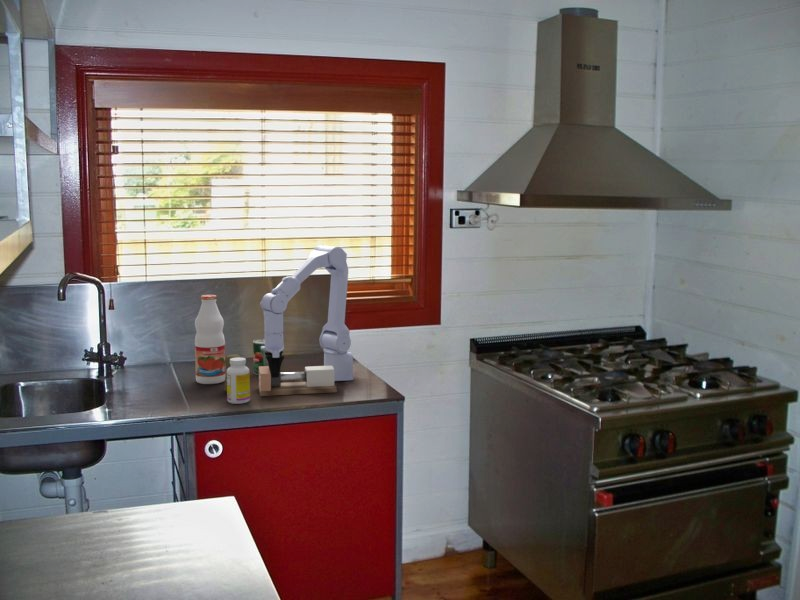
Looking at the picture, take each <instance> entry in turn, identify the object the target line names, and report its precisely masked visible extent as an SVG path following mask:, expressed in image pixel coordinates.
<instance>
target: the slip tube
mask: <svg viewBox="0 0 800 600" xmlns="http://www.w3.org/2000/svg"><path fill="white" fill-rule="evenodd" d="M291 382H307V372H305V371H291V372H289V371H287V372H286V371H285V372H280V373H279V377H278V378H272V377H271V387H277V386H281V383H291Z"/></svg>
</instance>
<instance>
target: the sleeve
mask: <svg viewBox="0 0 800 600" xmlns="http://www.w3.org/2000/svg"><path fill="white" fill-rule="evenodd" d="M304 372H307V382H305V384H306V386H307V387H316V386H334V384H335V381H334V368H333V366H324V365H314V366H313V365H312V366H305V367H304Z"/></svg>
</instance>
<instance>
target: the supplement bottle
mask: <svg viewBox="0 0 800 600" xmlns="http://www.w3.org/2000/svg"><path fill="white" fill-rule="evenodd" d="M246 363H247V359H246V357H241V358H240V357H237V358H231V359H230V365H231V367H229V368H228V369H227V391H226V394H227V395H226V397H227V399H226V400H227V402H228V403H230V404H235V405H241V404H246V403H248V402H250V401H251V381H250V377H251V376H250V368H249V367H248V366H246Z"/></svg>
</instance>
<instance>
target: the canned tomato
mask: <svg viewBox="0 0 800 600" xmlns="http://www.w3.org/2000/svg"><path fill="white" fill-rule="evenodd" d="M261 346H265V338H259V339H258V338H257V339H253V340H252V351H253V352H252V354H253V374H254V375H256V376H259V366H269V364H268V360H267V359H266V355H265V353H264V352H265V351H266V350H261Z"/></svg>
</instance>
